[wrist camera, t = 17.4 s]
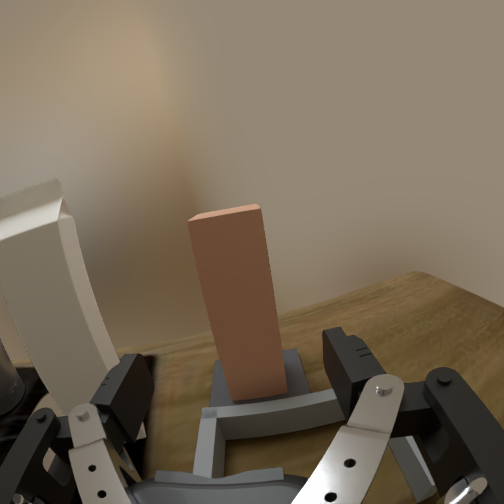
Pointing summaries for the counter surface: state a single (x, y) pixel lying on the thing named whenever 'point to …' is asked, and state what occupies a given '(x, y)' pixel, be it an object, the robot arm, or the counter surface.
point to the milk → (53, 295)
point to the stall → (289, 420)
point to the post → (240, 299)
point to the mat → (294, 386)
